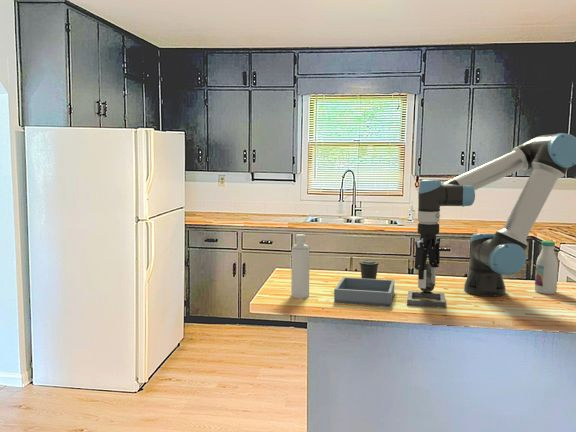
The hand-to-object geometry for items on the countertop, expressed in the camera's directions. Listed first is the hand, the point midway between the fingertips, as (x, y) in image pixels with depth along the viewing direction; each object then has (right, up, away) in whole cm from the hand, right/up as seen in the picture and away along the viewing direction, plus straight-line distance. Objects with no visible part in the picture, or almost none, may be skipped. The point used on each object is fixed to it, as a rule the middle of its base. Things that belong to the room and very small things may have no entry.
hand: (426, 286), depth 193 cm
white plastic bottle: (-46, -5, +8) cm, 47 cm away
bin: (-21, -5, +6) cm, 23 cm away
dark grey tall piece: (0, -3, 0) cm, 3 cm away
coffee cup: (-17, -3, +27) cm, 32 cm away
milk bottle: (+50, -4, +15) cm, 53 cm away
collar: (0, -6, +1) cm, 6 cm away
